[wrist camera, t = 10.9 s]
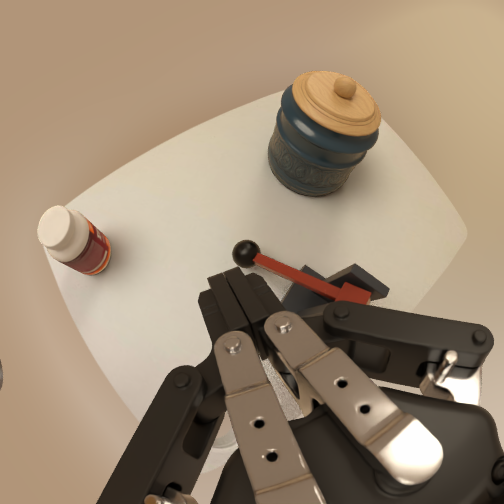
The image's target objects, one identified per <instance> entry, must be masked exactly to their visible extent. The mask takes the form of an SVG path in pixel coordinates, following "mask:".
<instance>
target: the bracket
mask: <svg viewBox="0 0 504 504" xmlns="http://www.w3.org/2000/svg"><path fill="white" fill-rule="evenodd" d="M300 271H301V272H304V273H306V274H308V275H311V276H313V277H315V278H317V279H320V280H322V281H324V282H327V283H329V284H331V285H334V286H336V287H338V288H340V289H341V288H342V286H343V284H344V282H347V283H350V284H352V285H354V286H357V287H359V288H361V289H364V290H366V291H368V292H371V300H370V301H373V300H377V299H382V298H386V296H387V294H388V292H389V290H390V289H389V288H388V287H387V286H386V285H384V284H383V283H381V282H380V281H379V280H377V279H376V278H375V277H373V276H372V275H371V274H369V273H368V272H366V271H365V270H364V269H362V268H361V267H360V266H358V265H357V264H353V265H351V266H349V267H347V268H345V269H343V270H341V271H340V272H338V273H336V274H334V275H332V276H330V277H328V278H326V279H325V278H324V277H323V276H321V275H320V274H318V273H317V272H315V271H314V270H312V269H311V268H309V267H308V266H306V265H305V266H303V267H302V269H301V270H300ZM332 302H335V301H334V300H331V299H329V298H327V297H325V296H323V295H320V294H318V293H316V292H314V291H312V290H310V289H307V288H305V287H303V286H301V285H299V284H296V283H294V282H293V283H292V285H291V287H290V288H289V290H288V292H287V293H286V295H285V296H284V298H283V300H282V301H281V303H282V305H283V306H284V307H285V309H286V310H287V311H290V312H294V313H296V314H298V315H299V316H300V317H301V318H309V317H315V316H321V315H323V311H324V309H325V307H326V306H327V305H329V304H330V303H332Z"/></svg>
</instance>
